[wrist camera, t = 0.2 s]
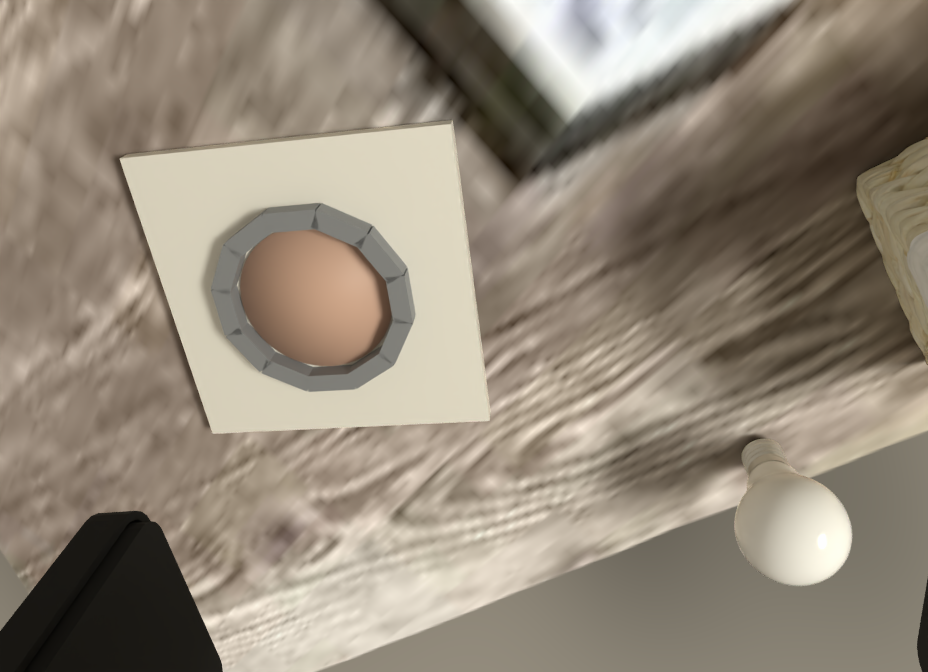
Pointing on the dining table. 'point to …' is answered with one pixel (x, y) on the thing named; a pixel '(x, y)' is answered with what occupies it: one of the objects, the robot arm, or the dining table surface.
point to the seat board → (319, 277)
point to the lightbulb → (789, 520)
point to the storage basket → (902, 229)
